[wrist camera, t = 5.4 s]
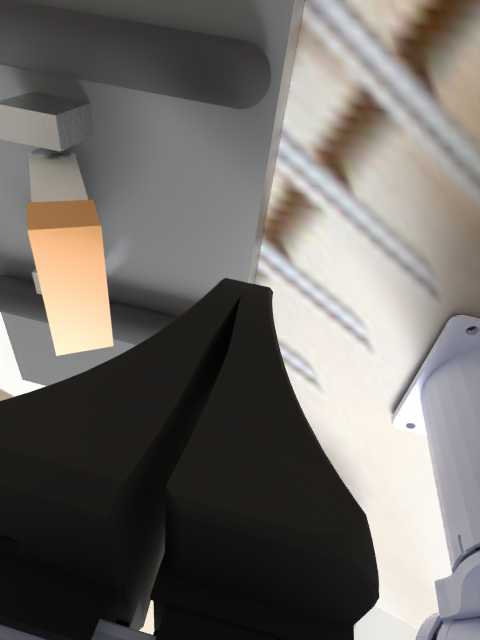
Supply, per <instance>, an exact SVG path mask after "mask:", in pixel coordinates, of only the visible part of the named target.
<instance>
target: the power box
mask: <svg viewBox="0 0 480 640" xmlns="http://www.w3.org/2000/svg"><path fill="white" fill-rule="evenodd" d="M304 2H305V0H0V312H1V314H2V317H3V320H4V323H5V326H6V330H7V333H8V336H9V339H10V342H11V345H12V348H13V351H14V354H15V358H16V361H17V364H18V367H19V370H20V373H21V376H22V379H23V380H26V381H30V382H34V383H38V384H42V385H46V386H49V385H52V384H54V383H57V382H60V381H62V380H65V379H67V378H70V377H72V376H75V375H77V374H80V373H82V372H85V371H87V370H89V369H91V368H93V367H95V366H97V365H100V364H102V363H104V362H106V361H108V360H110V359H112V358H114V357H116V356H118V355H120V354H122V353H124V352H126V351H127V350H129V349H131V348H132V347H134V346H136V345H138V344H139V343H141V342H143V341H144V340H146V339H148V338H149V337H151V336H152V335H154V334H155V333H157V332H158V331H160V330H161V329H162V328H164V327H165V326H167V325H168V324H170V323H171V322H172V321H174V320H175V319H177V318H178V317H179V316H180V315H182V314H183V313H184V312H185V311H187V310H188V309H189V308H190V307H192V306H193V305H194V304H195V303H197V302H198V301H199V300H200V299H201V298H202V297H204V296H205V295H206V294H207V293H208V292H209V291H210V290H211V289H212V288H213V287H214V286H216V285H217V284H218V283H219V282H220V281H221V280H222V279H224V278H229V279H234V280H238V281H243V282H247V283H251V284H254V282H255V277H256V271H257V265H258V260H259V254H260V249H261V243H262V237H263V232H264V226H265V221H266V215H267V209H268V204H269V198H270V193H271V187H272V181H273V176H274V170H275V164H276V159H277V153H278V148H279V142H280V136H281V131H282V125H283V120H284V114H285V108H286V103H287V97H288V92H289V86H290V80H291V75H292V69H293V64H294V58H295V52H296V47H297V41H298V36H299V30H300V24H301V19H302V13H303V8H304ZM39 148H46V149H50V150H55V151H60V152H61V151H64V150H69V151H70V152H71V153H75V156H76V159H77V163H78V166H79V169H80V173H81V176H82V179H83V183H84V186H85V190H86V193H87V196H88V200H93V201H94V204H95V207H96V210H97V214H98V217H99V220H100V223H101V228H102V238H103V247H104V257H105V267H106V277H107V287H108V297H109V306H110V316H111V326H112V336H113V346H111V347H105V348H99V349H93V350H88V351H82V352H76V353H70V354H65V355H59V356H56V352H55V348H54V343H53V339H52V335H51V330H50V326H49V321H48V317H47V313H46V308H45V304H44V300H43V295H42V291H41V287H40V282H39V278H38V274H37V269H36V265H35V261H34V256H33V252H32V248H31V243H30V239H29V235H28V230H27V205H26V202H31V188H30V171H29V154H28V153H32V152H33V151H34V150H36V149H39Z"/></svg>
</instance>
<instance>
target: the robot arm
mask: <svg viewBox="0 0 480 640" xmlns="http://www.w3.org/2000/svg"><path fill="white" fill-rule="evenodd" d="M272 295H273V291H272V290H271V288H269V287H265V286H260V285H256V284H251V283H247V282H243V281H238V280H234V279H229V278H224V279H222V280H221V281H220V282H219V283H218V284H217V285H216V286H214V287H213V288H212V289H211V290H210V291H209V292H208V293H207V294H206V295H205V296H204V297H202V298H201V299H200V300H199V301H198V302H197V303H195V304H194V305H193V306H192V307H190V308H189V309H188V310H187V311H185V312H184V313H183V314H182V315H180V316H179V317H178V318H177V319H175V320H174V321H172V322H171V323H170V324H168V325H167V326H165V327H164V328H162V329H161V330H160V331H158V332H157V333H155V334H154V335H152V336H151V337H149V338H148V339H146V340H144V341H143V342H141V343H139V344H138V345H136V346H134V347H132V348H131V349H129V350H127V351H126V352H124V353H122V354H120V355H118V356H116V357H114V358H112V359H110V360H108V361H106V362H104V363H102V364H100V365H97V366H95V367H93V368H91V369H89V370H87V371H85V372H82V373H80V374H77V375H75V376H72V377H70V378H67V379H65V380H62V381H60V382H57V383H54V384H52V385H49V386H46V387H43V388H41V389H38V390H35V391H32V392H29V393H26V394H22V395H19V396H16V397H13V398H9V399H6V400H3V401H0V640H354V625H355V624H356V623H357V622H358V621H359V620H360V619H361V618H362V617H363V616H364V615H365V614H366V613H367V612H368V611H369V610H370V609H372V607H374V606H375V604H376V602H377V600H378V599H379V577H378V569H377V563H376V557H375V551H374V546H373V541H372V537H371V533H370V528H369V524H368V521H367V517H366V514H365V513H364V511H363V510H362V509H361V507H360V506H359V504H358V503H357V502H356V500H355V499H354V497H353V496H352V494H351V493H350V492H349V490H348V489H347V487H346V486H345V484H344V483H343V481H342V480H341V478H340V477H339V475H338V474H337V472H336V470H335V469H334V467H333V465H332V464H331V462H330V461H329V459H328V457H327V456H326V454H325V452H324V451H323V449H322V447H321V445H320V444H319V442H318V440H317V438H316V436H315V434H314V432H313V430H312V429H311V427H310V425H309V423H308V421H307V419H306V417H305V415H304V413H303V411H302V409H301V407H300V404H299V402H298V400H297V398H296V395H295V393H294V390H293V388H292V385H291V383H290V380H289V377H288V375H287V372H286V369H285V366H284V362H283V359H282V356H281V352H280V348H279V344H278V340H277V335H276V330H275V325H274V319H273V310H272ZM472 326H476V328H475V329H473V330H467V329H468V328H469V327H472ZM391 419H392V424H393V426H394V427H396V428H399V429H403V430H407V431H411V432H415V433H419V434H423V435H427V440H428V445H429V450H430V456H431V461H432V466H433V472H434V477H435V483H436V488H437V493H438V499H439V504H440V510H441V515H442V520H443V526H444V531H445V536H446V542H447V547H448V553H449V558H450V563H451V569H452V575H450V576H448V577H446V578H443V579H439V580H436V581H435V587H436V594H437V600H438V607H439V613H435V614H433V615H432V616H430V617H429V618H427V619H426V620H425V621H424V623H423V624H422V625H421V627H420V629H419V632H418V634H417V636H416V640H480V318H476V317H471V316H467V315H457V316H454V317H452V318H451V319H450V320H449V321H448V322H447V324H446V326H445V327H444V329H443V331H442V332H441V334H440V336H439V338H438V339H437V341H436V343H435V344H434V346H433V348H432V349H431V351H430V353H429V355H428V356H427V358H426V360H425V361H424V363H423V365H422V366H421V368H420V370H419V371H418V373H417V375H416V377H415V378H414V380H413V382H412V383H411V385H410V387H409V388H408V390H407V392H406V393H405V395H404V397H403V399H402V400H401V402H400V404H399V405H398V407H397V409H396V410H395V412H394V414H393V416H392V418H391ZM151 600H153V601H154V628H155V631H154V634H153V635H151V634H147V633H144V632H141V631H139V630H140V629H141V628H142V627H143V626H144V622H145V619H146V615H147V612H148V608H149V605H150V601H151Z"/></svg>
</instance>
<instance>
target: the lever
mask: <svg viewBox="0 0 480 640" xmlns="http://www.w3.org/2000/svg"><path fill="white" fill-rule="evenodd" d="M28 154H29V171H30V188H31V202H26V205H27V230H28V235H29V239H30V243H31V248H32V252H33V256H34V261H35V265H36V269H37V274H38V278H39V282H40V287H41V291H42V295H43V300H44V304H45V308H46V313H47V317H48V321H49V326H50V330H51V335H52V339H53V343H54V348H55V352H56V356H59V355H65V354H70V353H76V352H82V351H88V350H93V349H99V348H105V347H111V346H113V336H112V326H111V316H110V306H109V297H108V287H107V277H106V267H105V257H104V247H103V238H102V228H101V223H100V220H99V217H98V214H97V210H96V207H95V204H94V201H93V200H88V196H87V193H86V190H85V186H84V183H83V179H82V176H81V173H80V169H79V166H78V163H77V159H76V156H75V153H71V152H70V151H69V150H64V151H61V152H60V151H55V150H50V149H46V148H39V149H36V150H34V151H33V152H32V153H28Z"/></svg>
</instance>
